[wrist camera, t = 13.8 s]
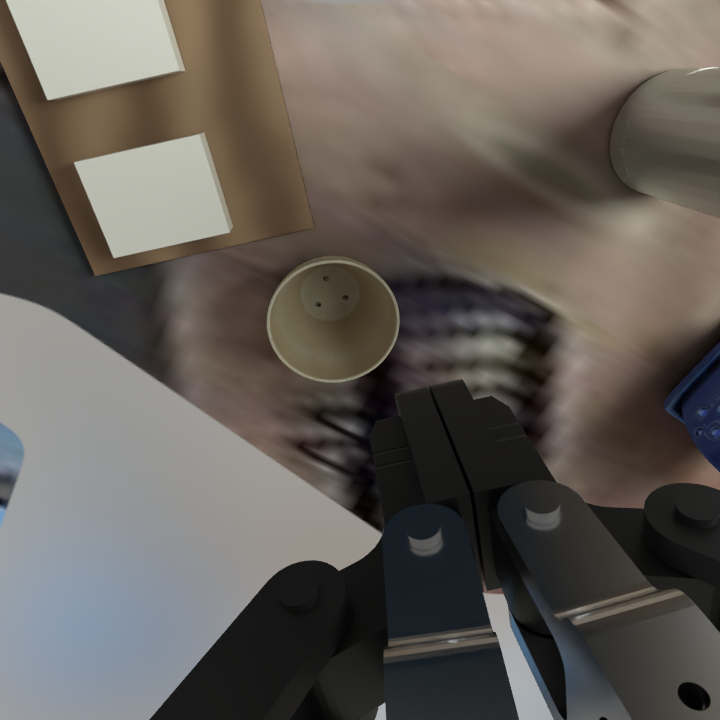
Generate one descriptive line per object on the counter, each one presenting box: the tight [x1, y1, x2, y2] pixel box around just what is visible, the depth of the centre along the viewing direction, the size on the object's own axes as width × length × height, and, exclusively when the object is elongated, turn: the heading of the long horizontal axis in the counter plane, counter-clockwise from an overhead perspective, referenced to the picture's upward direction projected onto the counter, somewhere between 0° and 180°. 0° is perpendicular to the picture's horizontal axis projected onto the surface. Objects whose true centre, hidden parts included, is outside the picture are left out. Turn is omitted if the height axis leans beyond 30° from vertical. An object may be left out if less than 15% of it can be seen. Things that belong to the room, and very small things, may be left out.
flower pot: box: [266, 256, 399, 383], centre depth 44 cm, size 10×10×7 cm
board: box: [0, 0, 314, 276], centre depth 40 cm, size 18×21×1 cm
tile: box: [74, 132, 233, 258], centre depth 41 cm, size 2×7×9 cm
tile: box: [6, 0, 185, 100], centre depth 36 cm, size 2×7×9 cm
